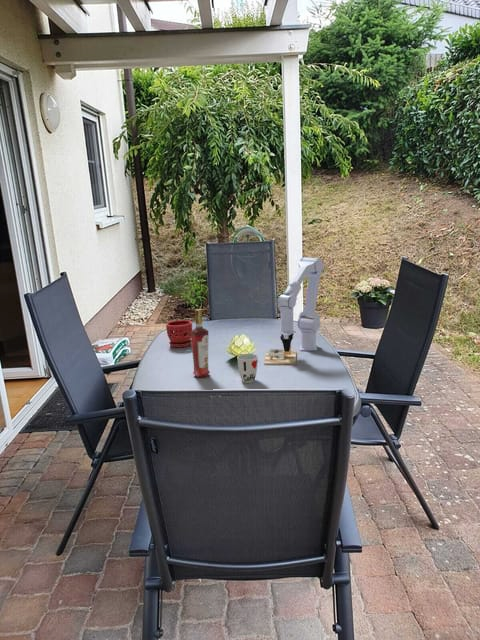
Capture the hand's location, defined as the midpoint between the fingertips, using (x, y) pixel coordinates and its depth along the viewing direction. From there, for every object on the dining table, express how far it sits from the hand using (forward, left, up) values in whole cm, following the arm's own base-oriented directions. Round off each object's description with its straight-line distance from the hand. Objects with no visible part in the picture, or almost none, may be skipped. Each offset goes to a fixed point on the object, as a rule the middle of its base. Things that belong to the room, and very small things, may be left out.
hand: (287, 350), depth 216 cm
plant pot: (-21, -55, -4) cm, 59 cm away
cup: (+29, -15, -4) cm, 33 cm away
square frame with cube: (0, -3, -2) cm, 4 cm away
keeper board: (0, -3, -4) cm, 5 cm away
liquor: (+24, -35, -4) cm, 43 cm away
